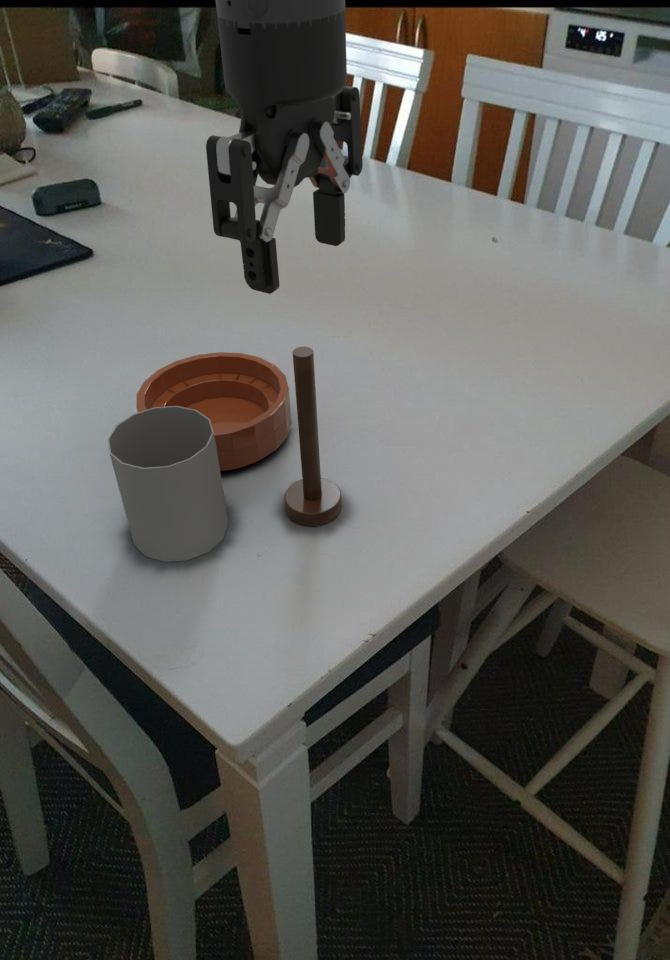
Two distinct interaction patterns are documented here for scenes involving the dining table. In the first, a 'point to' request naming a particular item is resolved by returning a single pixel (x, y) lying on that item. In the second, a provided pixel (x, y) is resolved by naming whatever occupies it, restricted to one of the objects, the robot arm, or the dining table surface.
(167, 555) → the cup
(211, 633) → the dining table surface
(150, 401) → the bowl
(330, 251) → the dining table surface
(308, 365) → the upright rod on disc
